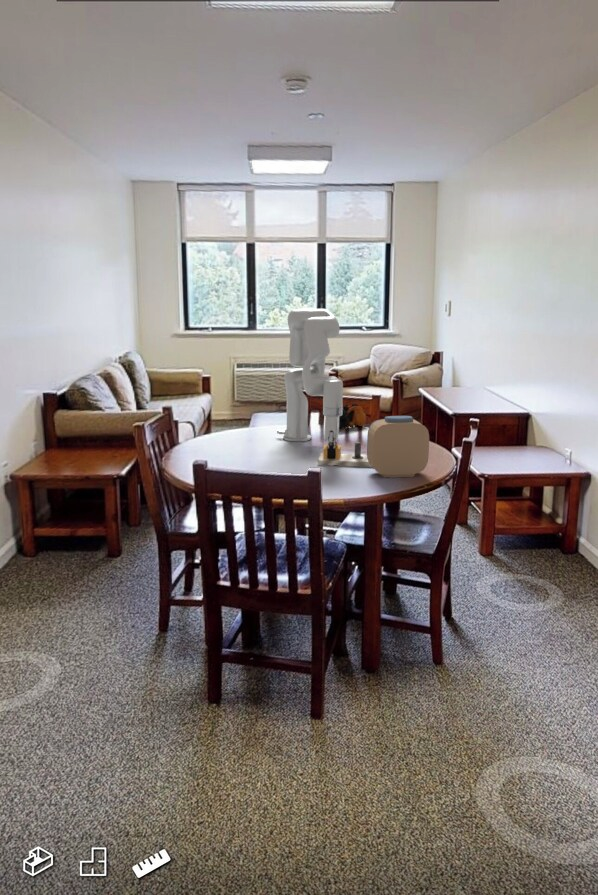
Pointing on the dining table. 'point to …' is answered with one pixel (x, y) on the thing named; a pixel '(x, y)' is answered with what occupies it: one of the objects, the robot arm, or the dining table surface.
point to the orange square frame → (338, 451)
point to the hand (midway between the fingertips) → (332, 455)
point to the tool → (351, 416)
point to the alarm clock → (398, 446)
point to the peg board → (348, 459)
